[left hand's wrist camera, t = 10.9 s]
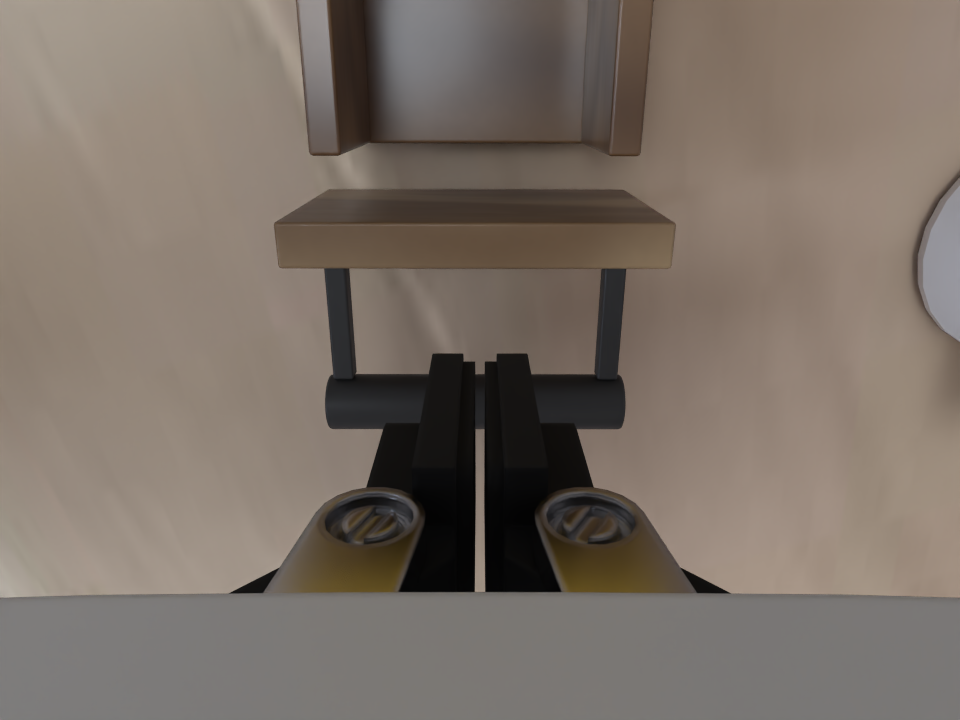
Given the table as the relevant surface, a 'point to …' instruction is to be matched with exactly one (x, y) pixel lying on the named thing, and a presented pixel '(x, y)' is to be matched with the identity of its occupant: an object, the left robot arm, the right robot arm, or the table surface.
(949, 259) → the mug
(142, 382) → the table surface
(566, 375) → the drawer
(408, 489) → the left robot arm
